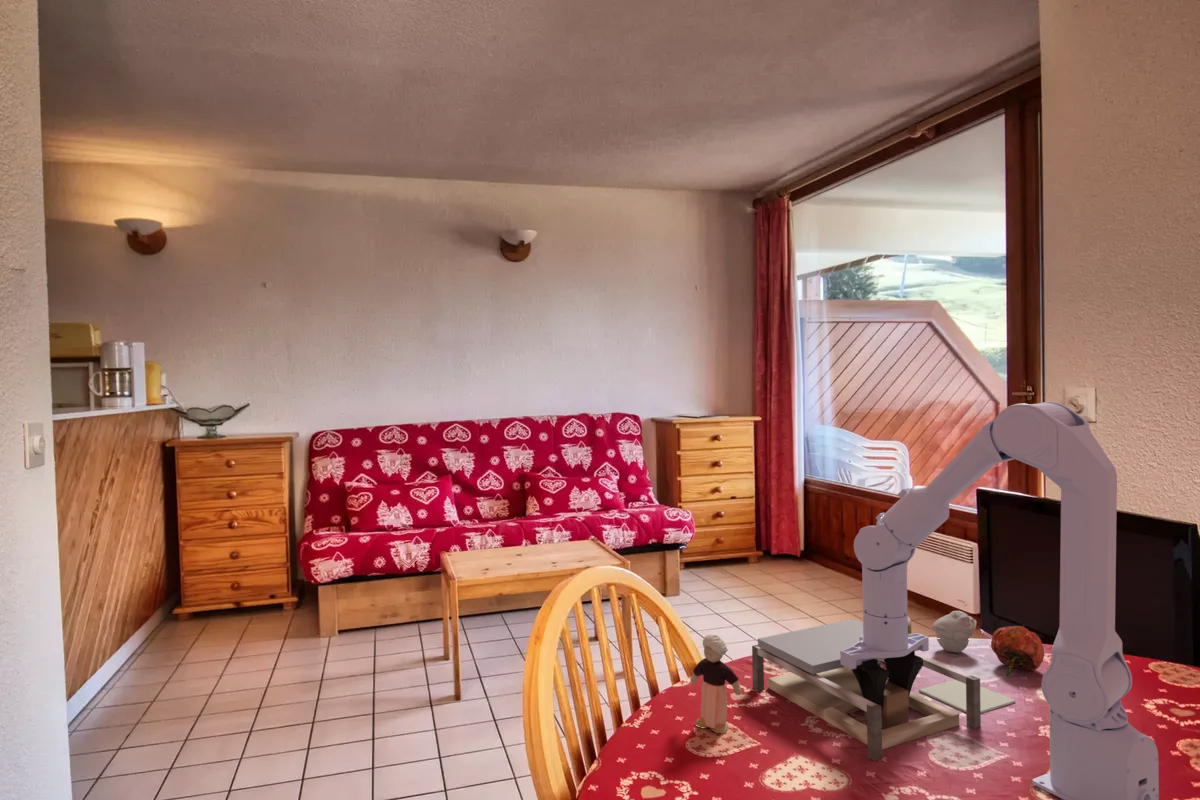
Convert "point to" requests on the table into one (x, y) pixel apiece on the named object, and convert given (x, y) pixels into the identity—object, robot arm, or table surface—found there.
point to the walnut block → (894, 706)
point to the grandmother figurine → (714, 684)
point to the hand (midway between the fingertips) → (886, 710)
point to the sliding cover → (814, 645)
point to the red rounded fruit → (1017, 648)
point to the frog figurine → (954, 631)
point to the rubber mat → (956, 696)
